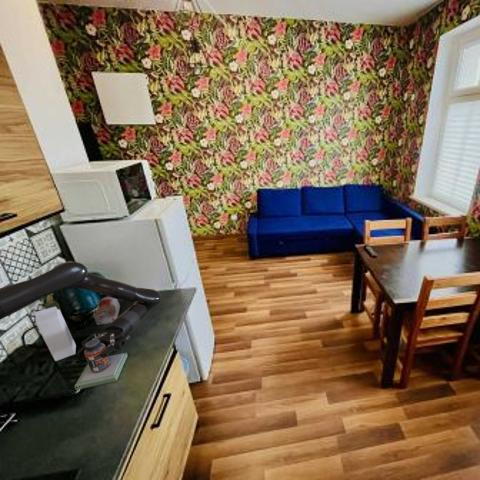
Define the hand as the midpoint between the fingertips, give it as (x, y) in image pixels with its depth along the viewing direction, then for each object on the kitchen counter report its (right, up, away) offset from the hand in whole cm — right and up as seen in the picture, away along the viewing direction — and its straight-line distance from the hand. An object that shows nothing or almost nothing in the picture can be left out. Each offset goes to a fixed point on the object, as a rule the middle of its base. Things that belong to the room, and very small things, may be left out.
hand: (90, 355), depth 93 cm
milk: (-22, -6, +14) cm, 26 cm away
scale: (0, -9, +6) cm, 11 cm away
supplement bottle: (0, -6, +5) cm, 8 cm away
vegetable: (-34, -1, +26) cm, 43 cm away
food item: (-21, +3, +35) cm, 40 cm away
